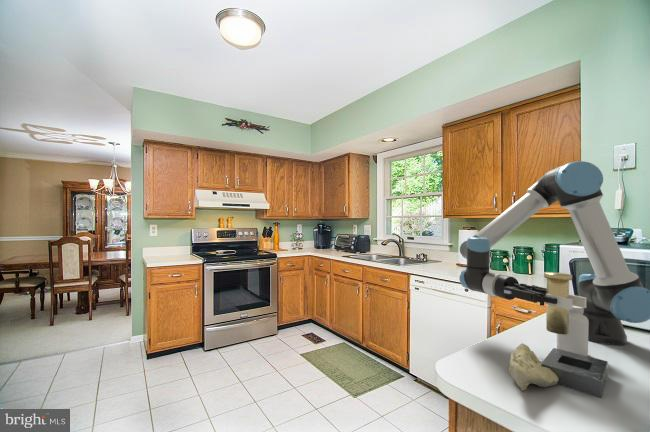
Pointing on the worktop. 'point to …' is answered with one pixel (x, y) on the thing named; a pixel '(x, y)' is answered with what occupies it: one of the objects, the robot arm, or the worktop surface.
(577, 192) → the robot arm
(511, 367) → the beige rock
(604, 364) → the block
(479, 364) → the worktop surface
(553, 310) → the brass flanged peg
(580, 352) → the pill bottle
